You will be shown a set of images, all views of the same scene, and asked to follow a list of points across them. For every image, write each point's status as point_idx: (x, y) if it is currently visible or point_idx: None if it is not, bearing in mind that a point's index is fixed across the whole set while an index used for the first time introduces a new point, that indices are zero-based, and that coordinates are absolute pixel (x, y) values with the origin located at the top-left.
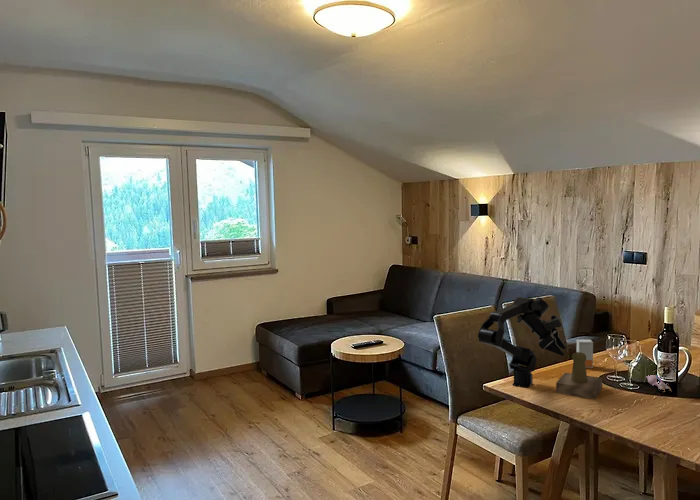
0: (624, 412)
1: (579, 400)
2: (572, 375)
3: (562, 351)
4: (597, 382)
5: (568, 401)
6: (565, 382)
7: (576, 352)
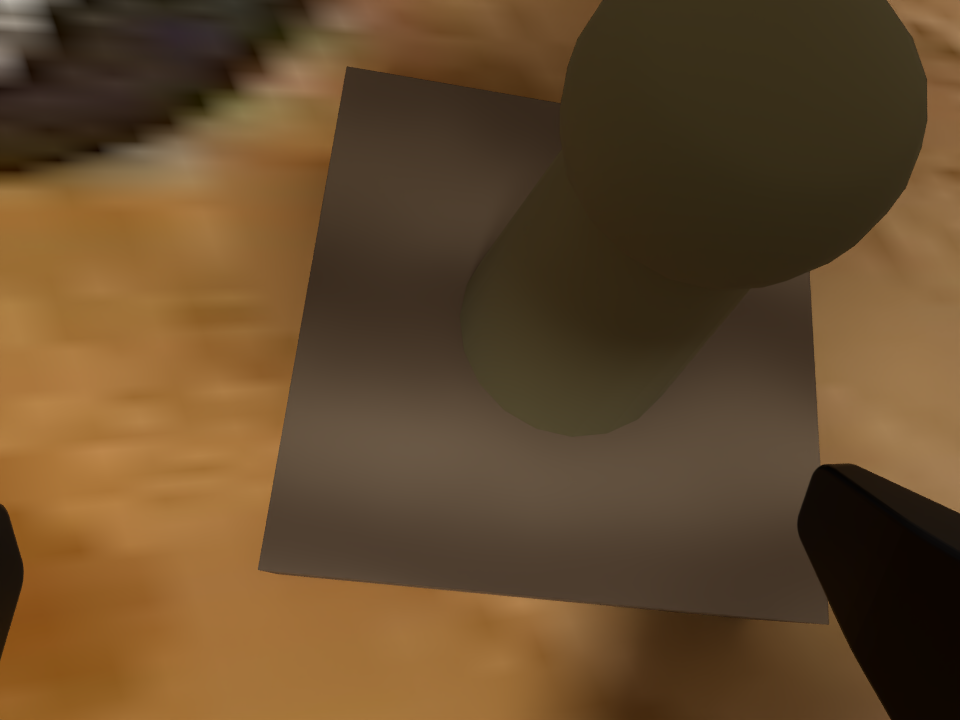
0: (911, 10)
1: (846, 347)
2: (662, 389)
3: (924, 511)
4: (559, 119)
5: (933, 449)
6: (748, 496)
7: (755, 101)
